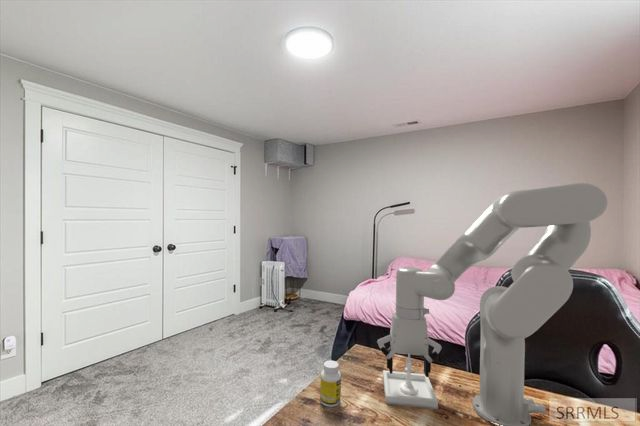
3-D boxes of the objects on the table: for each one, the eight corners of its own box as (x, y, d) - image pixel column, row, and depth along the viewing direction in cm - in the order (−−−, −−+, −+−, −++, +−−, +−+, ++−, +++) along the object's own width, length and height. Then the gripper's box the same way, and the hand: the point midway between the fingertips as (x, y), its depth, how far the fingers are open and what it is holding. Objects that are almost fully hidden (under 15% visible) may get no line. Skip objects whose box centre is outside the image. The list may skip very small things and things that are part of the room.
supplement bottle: (339, 409, 75) (339, 370, 75) (318, 406, 76) (318, 368, 76) (341, 396, 80) (342, 360, 80) (322, 393, 82) (322, 357, 82)
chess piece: (419, 388, 84) (420, 352, 84) (414, 397, 80) (415, 360, 80) (402, 382, 86) (402, 348, 87) (396, 391, 82) (397, 355, 82)
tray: (427, 381, 89) (427, 374, 89) (437, 409, 76) (437, 401, 76) (382, 376, 91) (382, 370, 91) (385, 403, 78) (386, 396, 78)
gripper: (438, 309, 86) (437, 368, 86) (377, 305, 88) (376, 363, 88) (445, 318, 78) (444, 383, 78) (378, 314, 81) (377, 377, 81)
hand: (408, 372), depth 83 cm, fingers open, 9 cm apart
